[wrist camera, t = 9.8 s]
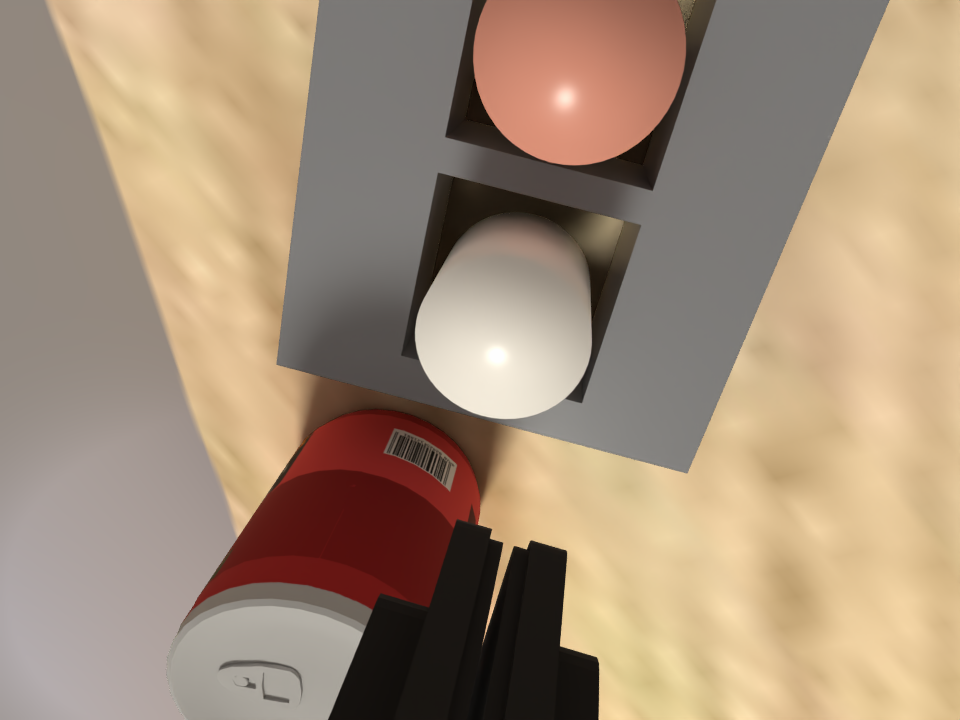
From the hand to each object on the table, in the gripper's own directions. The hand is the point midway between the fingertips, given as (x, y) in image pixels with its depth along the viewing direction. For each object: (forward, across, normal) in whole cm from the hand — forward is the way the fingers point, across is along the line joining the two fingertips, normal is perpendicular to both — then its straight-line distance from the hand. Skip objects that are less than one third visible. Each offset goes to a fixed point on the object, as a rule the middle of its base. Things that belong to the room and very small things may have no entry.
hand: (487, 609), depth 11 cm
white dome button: (+14, +1, 0) cm, 14 cm away
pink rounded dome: (+14, +1, -7) cm, 16 cm away
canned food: (+17, +4, +11) cm, 21 cm away
